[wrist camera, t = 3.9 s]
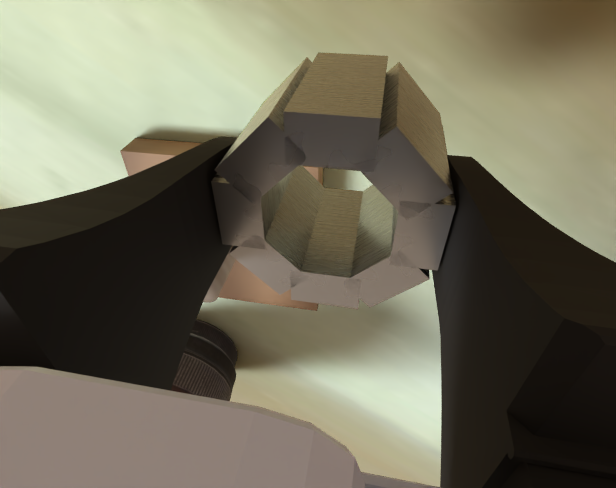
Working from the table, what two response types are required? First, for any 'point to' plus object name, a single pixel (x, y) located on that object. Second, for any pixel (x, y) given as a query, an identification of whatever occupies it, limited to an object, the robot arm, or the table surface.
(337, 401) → the table surface
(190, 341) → the camera lens
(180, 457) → the robot arm
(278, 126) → the ring
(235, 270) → the shaft stand
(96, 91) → the table surface
